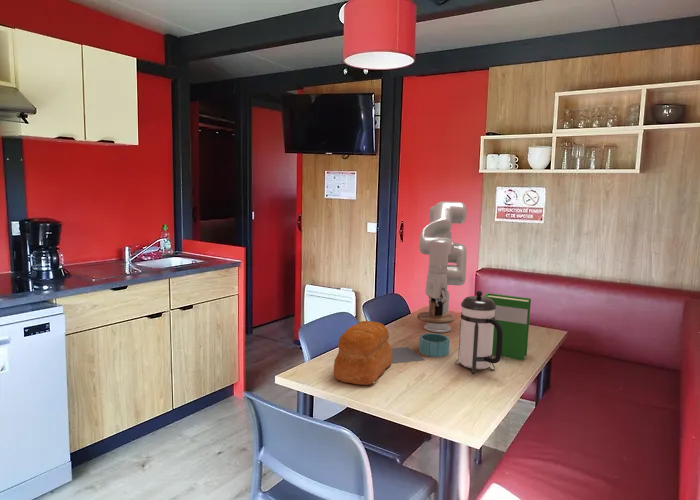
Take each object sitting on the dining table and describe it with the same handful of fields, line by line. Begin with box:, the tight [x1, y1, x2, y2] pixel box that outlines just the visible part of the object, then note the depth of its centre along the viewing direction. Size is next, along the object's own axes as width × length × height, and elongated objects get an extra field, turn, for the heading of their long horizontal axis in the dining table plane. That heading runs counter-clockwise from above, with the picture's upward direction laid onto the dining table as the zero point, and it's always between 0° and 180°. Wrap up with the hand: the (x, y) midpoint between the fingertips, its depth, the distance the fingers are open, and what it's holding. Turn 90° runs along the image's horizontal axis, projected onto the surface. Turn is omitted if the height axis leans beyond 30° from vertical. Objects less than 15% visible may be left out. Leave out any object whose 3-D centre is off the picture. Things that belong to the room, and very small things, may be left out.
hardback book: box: [482, 292, 532, 361], centre depth 199 cm, size 18×7×24 cm, turn 62°
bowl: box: [418, 332, 450, 358], centre depth 199 cm, size 12×12×6 cm
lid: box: [416, 301, 455, 324], centre depth 197 cm, size 15×15×7 cm
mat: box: [391, 346, 426, 365], centre depth 194 cm, size 16×16×1 cm
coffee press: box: [454, 290, 503, 375], centre depth 181 cm, size 17×16×30 cm
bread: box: [333, 320, 392, 386], centre depth 176 cm, size 16×26×17 cm, turn 157°
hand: (435, 313), depth 197 cm, fingers closed on lid, 4 cm apart
